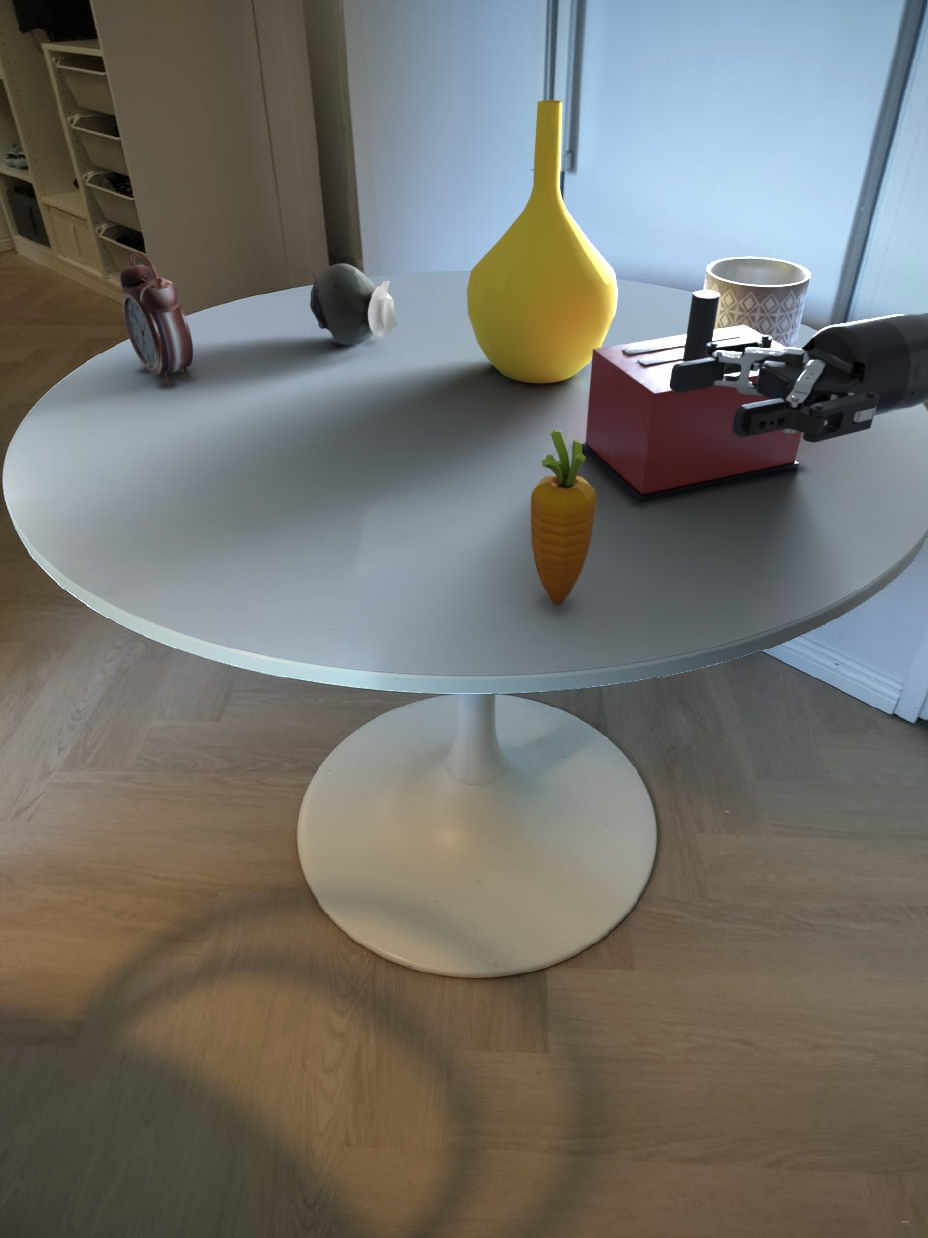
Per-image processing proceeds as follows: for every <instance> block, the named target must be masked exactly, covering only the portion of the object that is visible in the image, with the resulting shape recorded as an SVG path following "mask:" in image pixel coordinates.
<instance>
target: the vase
mask: <svg viewBox="0 0 928 1238" xmlns="http://www.w3.org/2000/svg"><path fill="white" fill-rule="evenodd" d="M562 112H563V101H562V100H557V99H556V100H554V99H544V100H538V101H537V105H536V121H535V122H536V124H535V126H536V127H535V138H534V139H535V141H534V155H533V156H534V157H533V179H532V180H533V183H532V185H533V186H532V189H531V191H530V192H531V193H530V195H529V198H528V201H527V202H526V204H525V207H524V209H523V210H522V212H521V213H520V214H519V215H518V216H517V218H516V219H515V220H514V221H513V223H512V224H511V225H510V226H509V228H508V229H507V230H506V231H505V232H504V233H503V234H502V236H501V237H500V239H498V241H496V243H495V244H494V245H493V246H492V247H491V248H490V249H489V250H488V252H486V254H484V256H483V257H482V258H481V259H480V260H479V261H478V262H477V263H476V264H475V265H474V267H473V268H472V269H471V270H470V274H469V278H468V283H467V288H466V305H467V308H466V309H467V316H468V318H469V322H470V324H471V327H472V331H473V333H474V336H475V339H476V342H477V344H478V346H479V347H480V349H481V350H482V352H483V354H484V355H485V357H486V359H487V360H488V361H489V362H490V363H491V365H492V366H493V367H494V368H495V369H497V370H498V371H499V373H501V374H502V375H504V376H505V377H507V378H509V379H511V380H514V381H517V382H523V383H530V384H550V383H559V382H562V381H566V380H569V379H571V378H573V377H574V376H575V375H577V374H578V373H579V372H580V371H582V370H583V369H584V368H585V367H586V366H588V364H590V362H592V354H593V349H597V348H602V346H603V344H604V341H605V339H606V337H607V334H608V332H609V331H610V327H611V325H612V322H613V320H614V318H615V315H616V312H617V305H618V304H617V303H618V298H619V297H618V296H619V295H618V294H619V293H618V292H619V291H618V285H617V276H616V273H615V271H614V268H613V267H612V266H611V265H610V264H609V263H608V261H606V259H605V258H604V257H603V256H602V254H601V253H600V252H599V251H598V250H597V249H596V247H595V246H594V245H593V243H591V242H590V240H589V239H588V237H587V235H586V234H585V233H584V232H583V231H582V229H581V227H580V226H579V225H578V224H577V222H576V221H575V219H574V218H573V217H572V215H571V214H570V213H569V211H568V210H567V208H566V205H565V202H564V200H563V197H562V193H561V188H560V180H561V179H560V177H561V158H562V157H561V155H562V154H561V153H562V114H563V113H562Z"/></svg>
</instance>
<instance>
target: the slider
mask: <svg viewBox="0 0 928 1238" xmlns="http://www.w3.org/2000/svg"><path fill="white" fill-rule="evenodd" d="M719 299H720V294H719V293H717V292H714V291H709V290H703V289H700V290H695V291H693V292H692V294H691V299H690V306H689V313H688V321H687V328H686V333H685V335H686V341H685V348H684V355H683V362H687V361H693V360H699V359H704V358H705V353H706V344H707V343H711V342H713V336H714V330H715V324H716V317H717V311H718V305H719Z"/></svg>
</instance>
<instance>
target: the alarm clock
mask: <svg viewBox="0 0 928 1238" xmlns="http://www.w3.org/2000/svg"><path fill="white" fill-rule="evenodd" d="M130 257H131V258H130V259H128V261H127V263H128V266H127V267H126V268H124V269H123V270H122V271H121V273H120V275H119V284H120V289H121V291H122V292H123V294H122V305H121V306H122V316H123V320H124V325H125V329H126V332H127V335H128V338H129V341H130V343H131V346H132V348H133V350H134V352H135V354H136V355H137V358H138V359H139V361H140V362H141V364H142V365H143V366H144V369H145V370H146V371H149V373H150V374H152V375H154V376H157V375H161V377H162V378H163V380H164V382H165V385H166V386H168V387H170V385H171V383H170V381H169V378H168V374H172V373H176V372H179V371H181V370H183V371H184V373H185V374H186V377H187V378H190V377H191V373H189V370H188V368H189V367H190V366H191V365H192V364H193V358H194V347H193V345H194V344H193V339H192V334H191V329H190V326H189V323H188V319H187V317H186V314H185V311H184V309H183V307H182V304H181V303H180V295H179V291H178V289H177V286H176V285H175V284H174V282H172V281H171V280H169V279H167V278H165V277H162V276H159V275H158V273H157V271H156V268H155V266H154V264H153V262H152V261H151V260H150V259H149V258H148V257H147V256H146V255H145V254H144V253H141V252H140V251H133V252H131V255H130ZM136 257H139V258H140V259H141V260H143V261H144V262H145V263H146V264H147V265H148V266H147V265H144V264H136Z"/></svg>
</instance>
